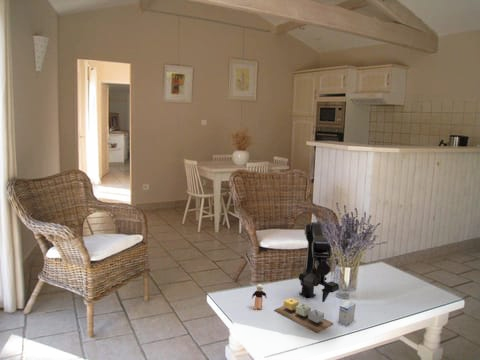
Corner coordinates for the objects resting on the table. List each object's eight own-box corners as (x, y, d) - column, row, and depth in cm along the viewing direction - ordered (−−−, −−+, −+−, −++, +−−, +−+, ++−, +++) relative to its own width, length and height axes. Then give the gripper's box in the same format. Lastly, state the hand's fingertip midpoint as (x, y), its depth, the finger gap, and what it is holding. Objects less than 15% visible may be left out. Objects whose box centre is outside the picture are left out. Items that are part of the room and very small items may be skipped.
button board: (290, 303, 205) (290, 302, 205) (333, 324, 186) (333, 322, 186) (274, 310, 197) (274, 309, 197) (317, 333, 178) (317, 331, 178)
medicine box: (345, 317, 193) (346, 300, 192) (354, 320, 191) (355, 303, 189) (338, 323, 187) (339, 305, 186) (347, 326, 185) (348, 308, 183)
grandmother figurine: (252, 311, 196) (253, 286, 194) (250, 307, 200) (251, 283, 198) (267, 309, 198) (268, 285, 196) (264, 305, 202) (266, 282, 200)
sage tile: (302, 309, 195) (302, 303, 194) (310, 313, 191) (310, 307, 190) (295, 312, 191) (295, 306, 191) (303, 316, 188) (304, 310, 187)
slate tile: (314, 315, 189) (315, 308, 189) (323, 319, 186) (324, 313, 185) (308, 318, 186) (308, 312, 185) (317, 322, 182) (317, 316, 182)
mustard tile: (290, 303, 200) (290, 297, 200) (298, 307, 196) (298, 301, 196) (283, 306, 197) (284, 300, 196) (291, 310, 193) (291, 304, 193)
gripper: (291, 264, 183) (289, 297, 186) (325, 277, 170) (323, 312, 172) (307, 259, 190) (305, 290, 193) (340, 271, 177) (338, 304, 180)
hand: (317, 299), depth 184 cm, fingers open, 7 cm apart
